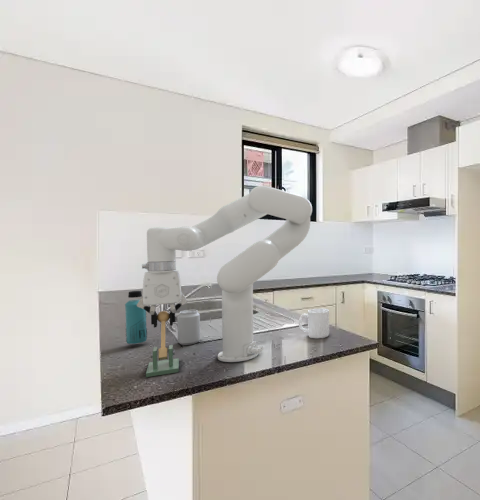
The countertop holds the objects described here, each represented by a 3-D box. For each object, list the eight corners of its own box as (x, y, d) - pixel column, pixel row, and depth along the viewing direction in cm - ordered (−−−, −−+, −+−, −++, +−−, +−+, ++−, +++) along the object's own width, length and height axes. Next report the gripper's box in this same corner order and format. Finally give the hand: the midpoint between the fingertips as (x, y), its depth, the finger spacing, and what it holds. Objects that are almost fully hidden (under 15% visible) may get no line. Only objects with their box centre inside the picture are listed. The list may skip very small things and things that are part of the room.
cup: (327, 338, 137) (327, 312, 136) (296, 338, 137) (296, 312, 136) (330, 332, 145) (330, 308, 145) (301, 333, 145) (300, 308, 145)
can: (198, 344, 130) (197, 312, 130) (175, 346, 128) (174, 313, 127) (202, 339, 137) (201, 308, 137) (180, 340, 135) (179, 309, 135)
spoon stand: (149, 366, 108) (148, 345, 108) (179, 361, 112) (178, 341, 112) (145, 377, 99) (145, 354, 99) (178, 372, 103) (178, 350, 103)
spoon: (157, 314, 112) (156, 309, 110) (170, 313, 114) (169, 308, 111) (156, 361, 105) (155, 357, 102) (170, 359, 107) (169, 355, 104)
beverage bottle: (139, 348, 126) (138, 292, 126) (121, 348, 126) (119, 292, 126) (151, 342, 133) (150, 289, 132) (134, 342, 133) (132, 289, 132)
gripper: (127, 269, 103) (129, 331, 103) (192, 266, 110) (193, 325, 111) (131, 267, 109) (133, 326, 110) (192, 265, 117) (193, 320, 118)
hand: (163, 325), depth 111 cm, fingers closed on spoon, 3 cm apart
